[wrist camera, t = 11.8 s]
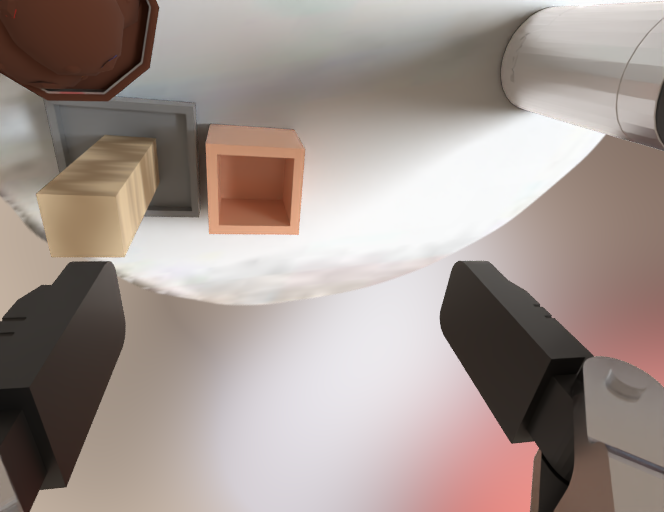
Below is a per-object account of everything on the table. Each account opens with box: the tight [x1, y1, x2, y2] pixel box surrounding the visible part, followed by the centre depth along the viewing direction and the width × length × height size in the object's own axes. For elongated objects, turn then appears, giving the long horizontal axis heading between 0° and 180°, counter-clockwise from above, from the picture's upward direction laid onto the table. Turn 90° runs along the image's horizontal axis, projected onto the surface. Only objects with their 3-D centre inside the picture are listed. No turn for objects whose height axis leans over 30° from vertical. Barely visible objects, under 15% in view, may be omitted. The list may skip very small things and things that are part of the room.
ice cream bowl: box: [0, 0, 159, 101], centre depth 24 cm, size 11×11×15 cm
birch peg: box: [36, 135, 160, 257], centre depth 30 cm, size 4×4×14 cm
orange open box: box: [206, 124, 305, 235], centre depth 36 cm, size 8×8×7 cm
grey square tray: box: [43, 96, 201, 217], centre depth 35 cm, size 11×10×2 cm
